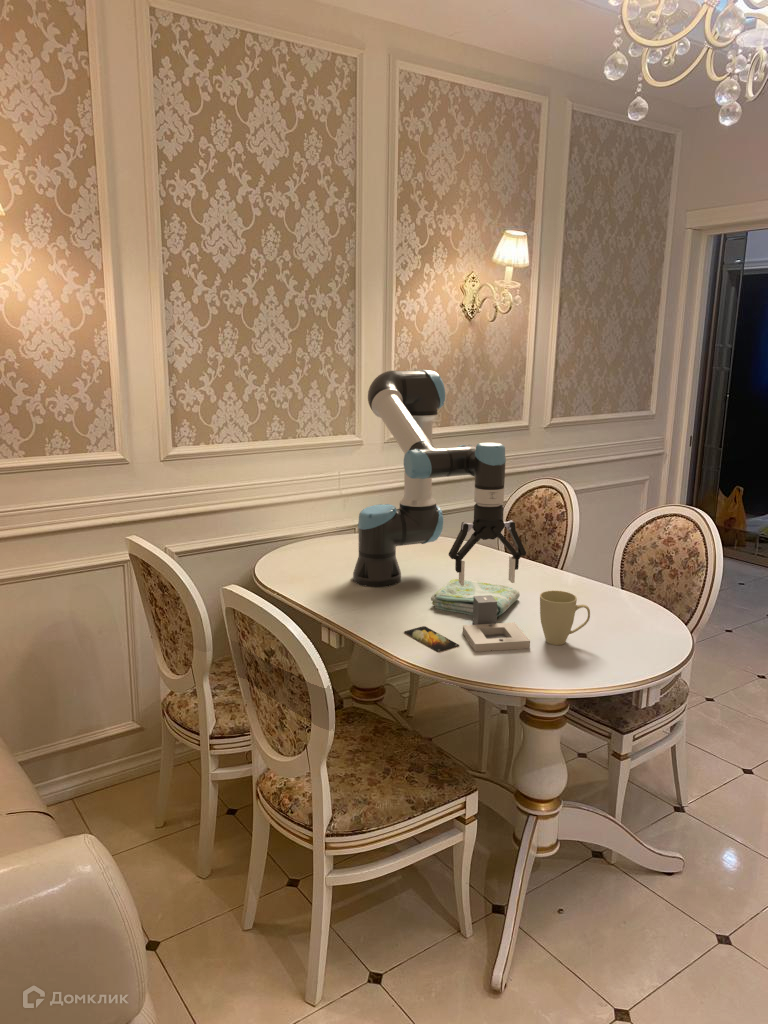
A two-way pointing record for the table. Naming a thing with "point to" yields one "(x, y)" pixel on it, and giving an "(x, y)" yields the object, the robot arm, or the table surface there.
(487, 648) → the socket plate
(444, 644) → the smartphone
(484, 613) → the block
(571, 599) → the mug
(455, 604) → the towel
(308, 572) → the table surface
